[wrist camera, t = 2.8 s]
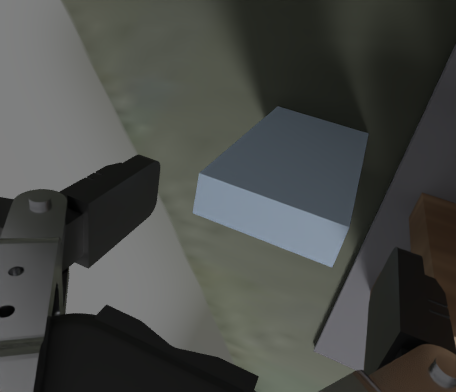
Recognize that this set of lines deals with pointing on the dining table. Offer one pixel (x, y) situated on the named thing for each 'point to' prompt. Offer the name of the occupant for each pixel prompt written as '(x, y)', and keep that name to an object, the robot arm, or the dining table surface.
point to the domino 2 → (436, 244)
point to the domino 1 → (287, 183)
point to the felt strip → (396, 219)
